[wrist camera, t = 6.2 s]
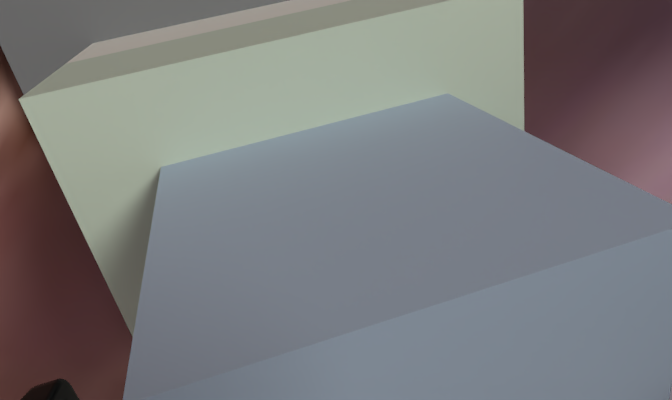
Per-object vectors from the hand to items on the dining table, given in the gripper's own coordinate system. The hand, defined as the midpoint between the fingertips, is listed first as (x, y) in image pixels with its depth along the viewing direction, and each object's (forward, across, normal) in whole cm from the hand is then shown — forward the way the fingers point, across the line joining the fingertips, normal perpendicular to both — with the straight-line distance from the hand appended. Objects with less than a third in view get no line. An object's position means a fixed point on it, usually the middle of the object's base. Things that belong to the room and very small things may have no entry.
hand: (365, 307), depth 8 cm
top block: (+2, 0, 0) cm, 2 cm away
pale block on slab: (+8, 0, 0) cm, 8 cm away
